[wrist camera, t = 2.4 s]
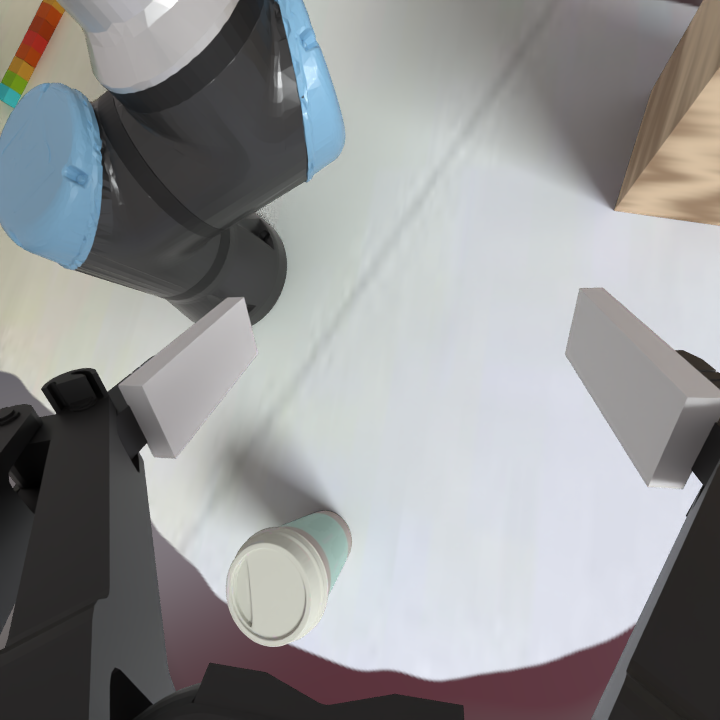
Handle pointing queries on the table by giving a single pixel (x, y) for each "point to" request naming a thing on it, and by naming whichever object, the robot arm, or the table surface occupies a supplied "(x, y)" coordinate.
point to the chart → (30, 51)
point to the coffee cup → (287, 577)
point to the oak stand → (681, 132)
